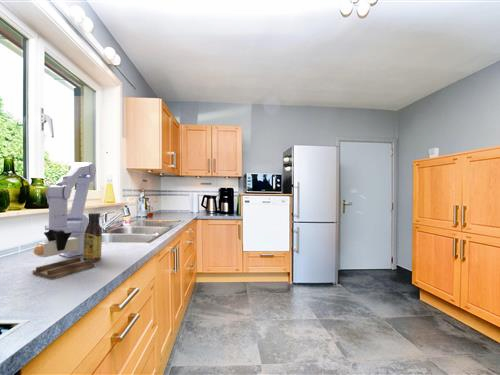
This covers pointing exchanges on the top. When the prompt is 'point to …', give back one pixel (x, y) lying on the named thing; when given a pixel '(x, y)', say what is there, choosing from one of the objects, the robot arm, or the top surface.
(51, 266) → the jig
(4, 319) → the top surface
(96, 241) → the sauce bottle
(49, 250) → the white post with dome
